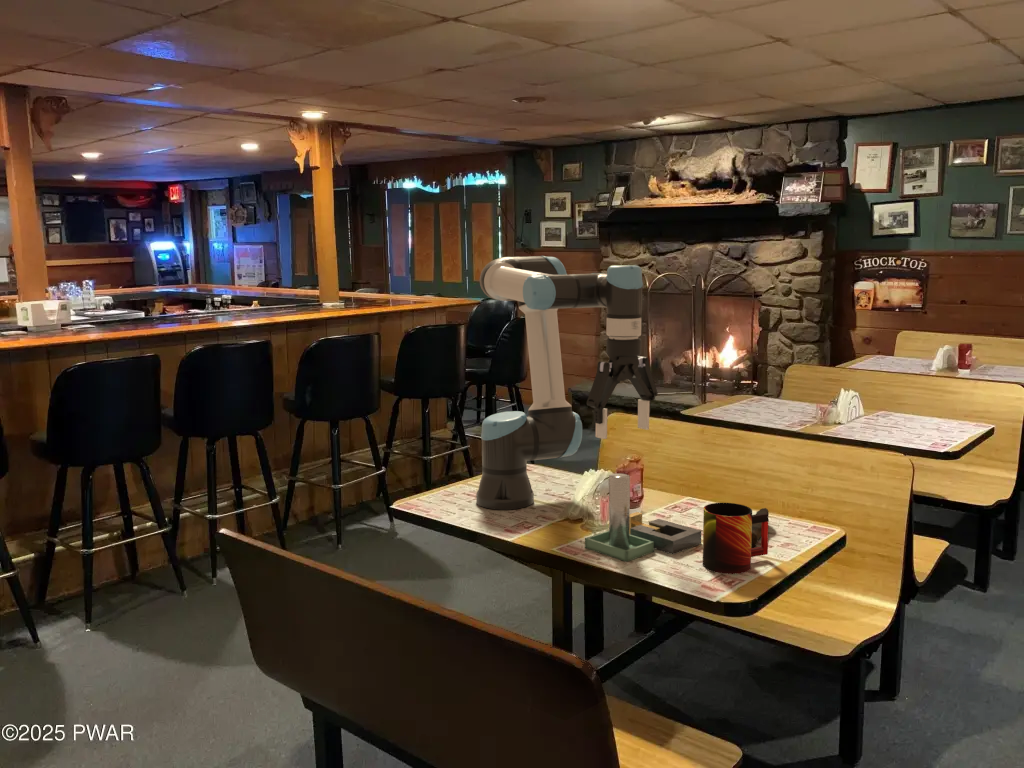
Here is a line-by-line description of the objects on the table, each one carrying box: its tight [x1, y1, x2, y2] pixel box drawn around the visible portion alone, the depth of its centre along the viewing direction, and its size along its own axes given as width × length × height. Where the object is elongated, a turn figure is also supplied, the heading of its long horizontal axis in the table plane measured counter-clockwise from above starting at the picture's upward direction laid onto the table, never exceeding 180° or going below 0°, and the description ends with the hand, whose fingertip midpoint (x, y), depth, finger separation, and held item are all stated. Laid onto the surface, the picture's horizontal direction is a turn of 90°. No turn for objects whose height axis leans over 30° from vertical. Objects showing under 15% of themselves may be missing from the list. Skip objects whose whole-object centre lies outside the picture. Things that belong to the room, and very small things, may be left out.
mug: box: [702, 502, 769, 575], centre depth 173 cm, size 10×14×12 cm
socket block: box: [629, 518, 702, 555], centre depth 186 cm, size 12×10×3 cm
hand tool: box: [751, 507, 770, 548], centre depth 190 cm, size 19×4×5 cm, turn 149°
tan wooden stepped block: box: [629, 511, 660, 534], centre depth 191 cm, size 8×4×4 cm, turn 41°
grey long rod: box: [608, 473, 631, 550], centre depth 181 cm, size 4×4×16 cm
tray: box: [584, 529, 655, 563], centre depth 182 cm, size 12×9×2 cm
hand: (622, 433), depth 184 cm, fingers open, 13 cm apart
